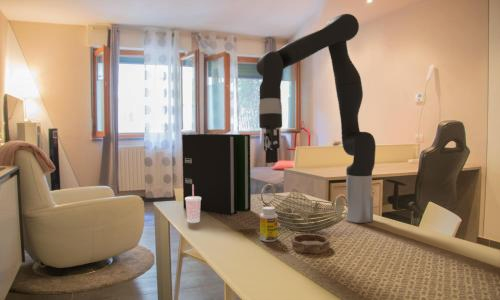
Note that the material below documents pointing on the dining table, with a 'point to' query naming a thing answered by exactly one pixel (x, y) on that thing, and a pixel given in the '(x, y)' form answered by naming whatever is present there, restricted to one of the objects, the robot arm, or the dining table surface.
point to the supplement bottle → (268, 224)
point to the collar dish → (310, 243)
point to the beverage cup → (193, 207)
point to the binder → (217, 171)
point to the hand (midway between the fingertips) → (271, 162)
